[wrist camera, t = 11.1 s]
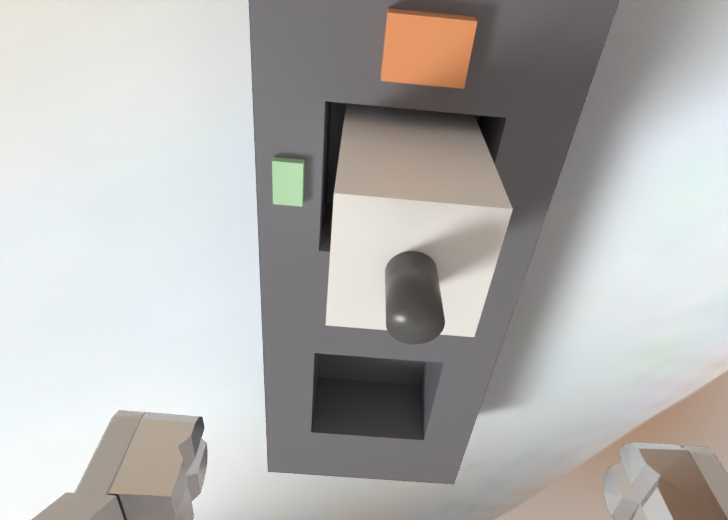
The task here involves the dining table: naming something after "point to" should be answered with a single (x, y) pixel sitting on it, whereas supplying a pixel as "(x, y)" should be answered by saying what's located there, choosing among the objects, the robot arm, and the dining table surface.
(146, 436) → the robot arm
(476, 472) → the dining table surface
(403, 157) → the plug
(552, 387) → the dining table surface
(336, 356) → the power strip
